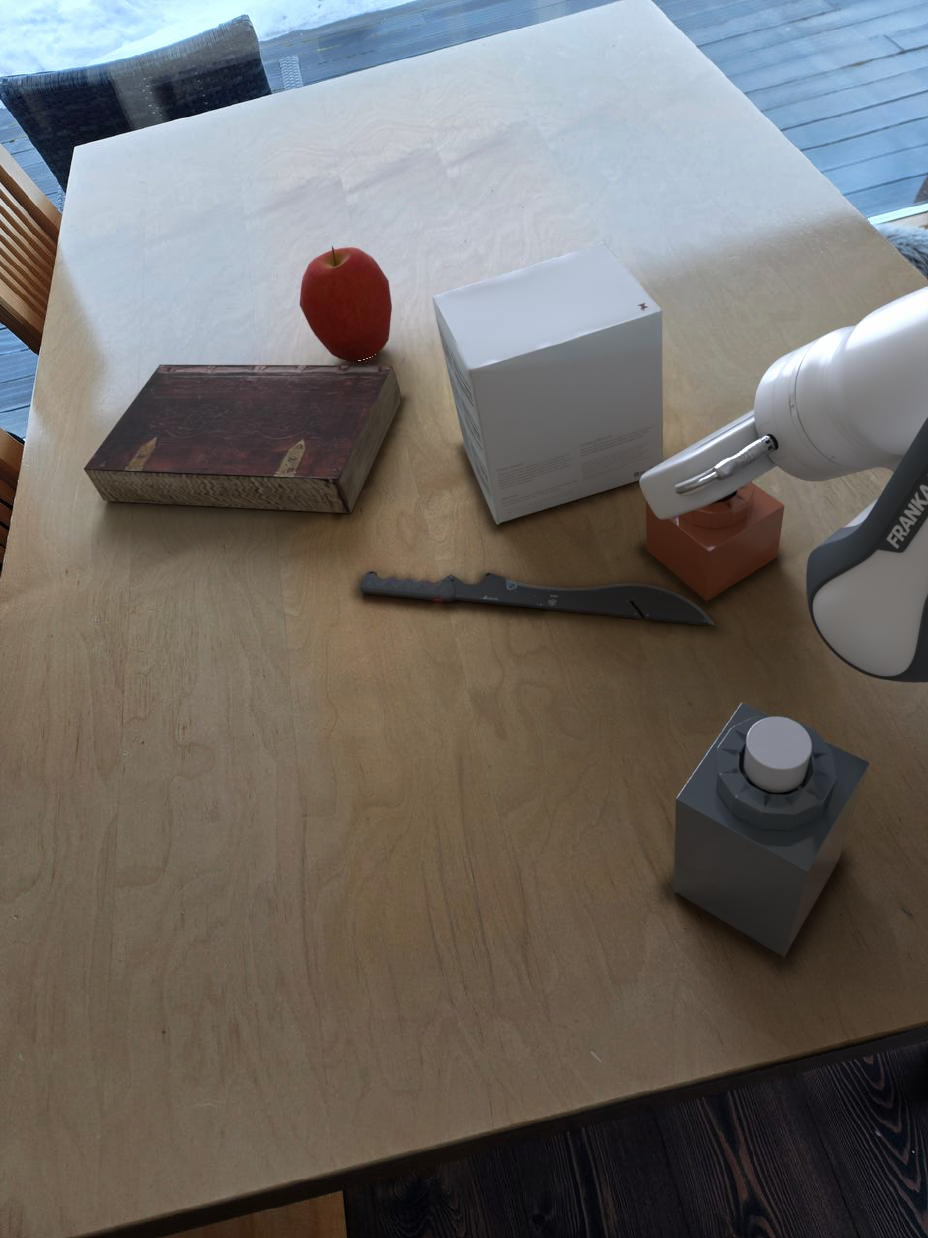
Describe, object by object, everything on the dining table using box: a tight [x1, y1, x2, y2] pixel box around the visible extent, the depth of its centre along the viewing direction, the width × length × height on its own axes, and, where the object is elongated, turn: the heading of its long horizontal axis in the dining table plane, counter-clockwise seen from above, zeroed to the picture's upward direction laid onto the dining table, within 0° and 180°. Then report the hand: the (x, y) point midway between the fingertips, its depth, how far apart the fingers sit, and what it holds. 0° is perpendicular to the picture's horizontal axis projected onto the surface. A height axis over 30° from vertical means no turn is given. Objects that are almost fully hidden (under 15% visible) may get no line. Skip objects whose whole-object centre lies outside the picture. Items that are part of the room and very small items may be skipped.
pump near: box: [744, 716, 812, 793], centre depth 51 cm, size 3×3×3 cm
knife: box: [359, 570, 716, 626], centre depth 82 cm, size 32×4×1 cm, turn 75°
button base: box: [645, 481, 785, 602], centre depth 80 cm, size 8×8×8 cm
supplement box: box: [432, 241, 664, 526], centre depth 87 cm, size 17×13×18 cm
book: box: [83, 364, 402, 514], centre depth 101 cm, size 29×19×5 cm, turn 77°
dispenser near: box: [673, 701, 871, 958], centre depth 58 cm, size 8×8×15 cm
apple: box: [299, 245, 393, 364], centre depth 106 cm, size 10×10×14 cm
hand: (716, 451), depth 74 cm, fingers closed
